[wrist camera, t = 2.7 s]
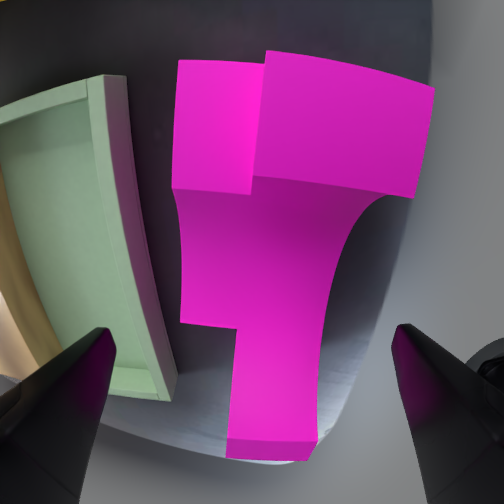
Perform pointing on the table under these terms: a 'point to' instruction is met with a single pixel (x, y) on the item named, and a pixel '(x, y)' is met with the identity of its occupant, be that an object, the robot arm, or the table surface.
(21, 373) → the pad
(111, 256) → the frame
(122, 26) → the table surface
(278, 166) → the toy block
